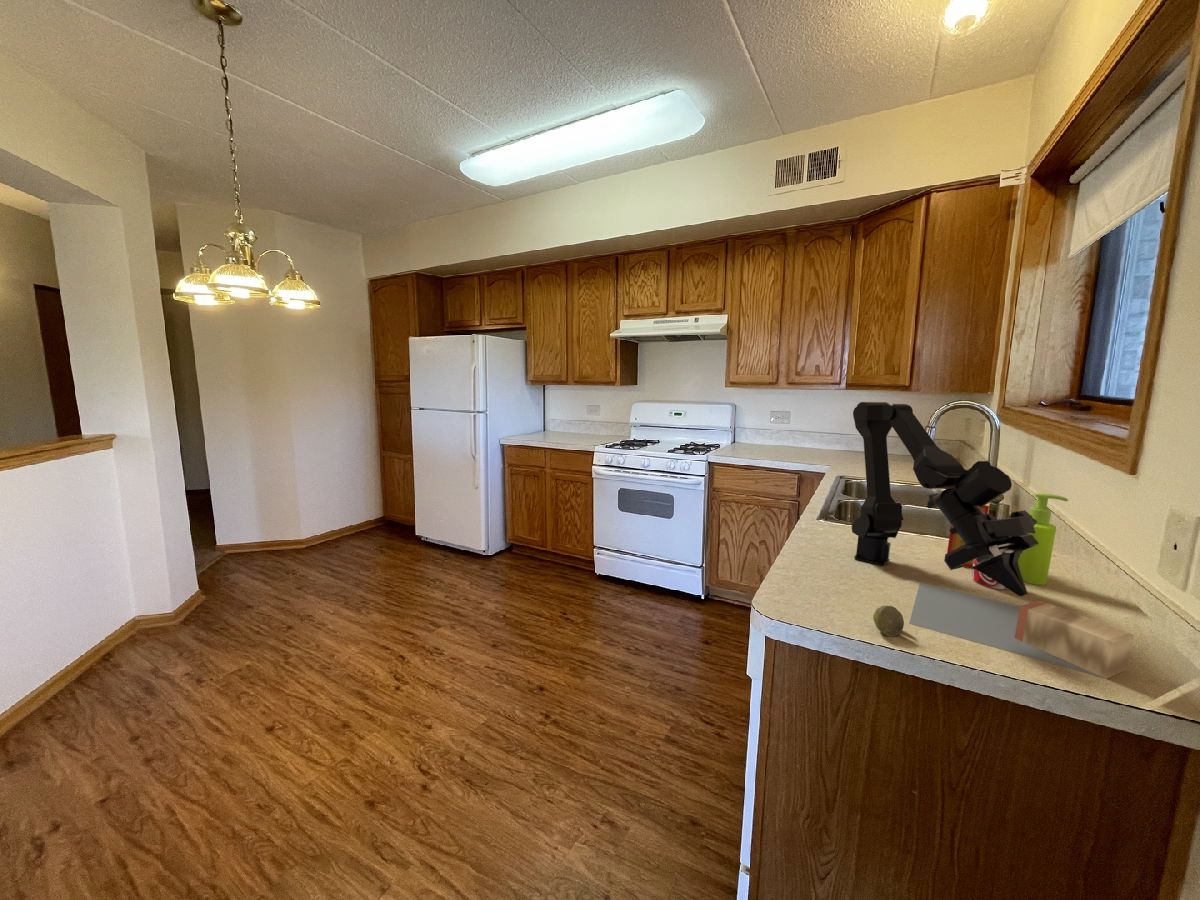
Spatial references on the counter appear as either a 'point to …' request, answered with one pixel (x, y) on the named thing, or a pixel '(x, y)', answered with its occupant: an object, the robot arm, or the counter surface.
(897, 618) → the lime
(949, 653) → the counter surface
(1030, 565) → the soap dispenser
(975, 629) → the slate mat
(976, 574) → the soda can
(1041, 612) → the maple block
